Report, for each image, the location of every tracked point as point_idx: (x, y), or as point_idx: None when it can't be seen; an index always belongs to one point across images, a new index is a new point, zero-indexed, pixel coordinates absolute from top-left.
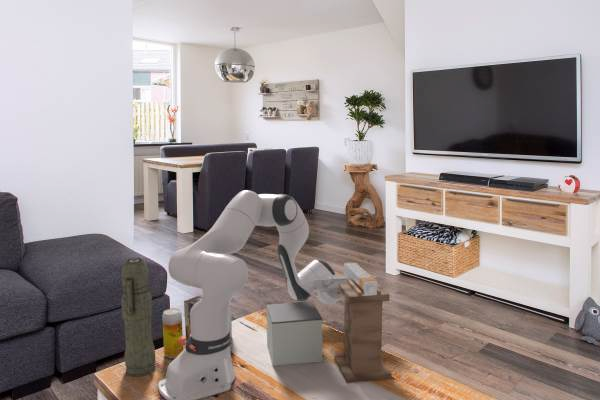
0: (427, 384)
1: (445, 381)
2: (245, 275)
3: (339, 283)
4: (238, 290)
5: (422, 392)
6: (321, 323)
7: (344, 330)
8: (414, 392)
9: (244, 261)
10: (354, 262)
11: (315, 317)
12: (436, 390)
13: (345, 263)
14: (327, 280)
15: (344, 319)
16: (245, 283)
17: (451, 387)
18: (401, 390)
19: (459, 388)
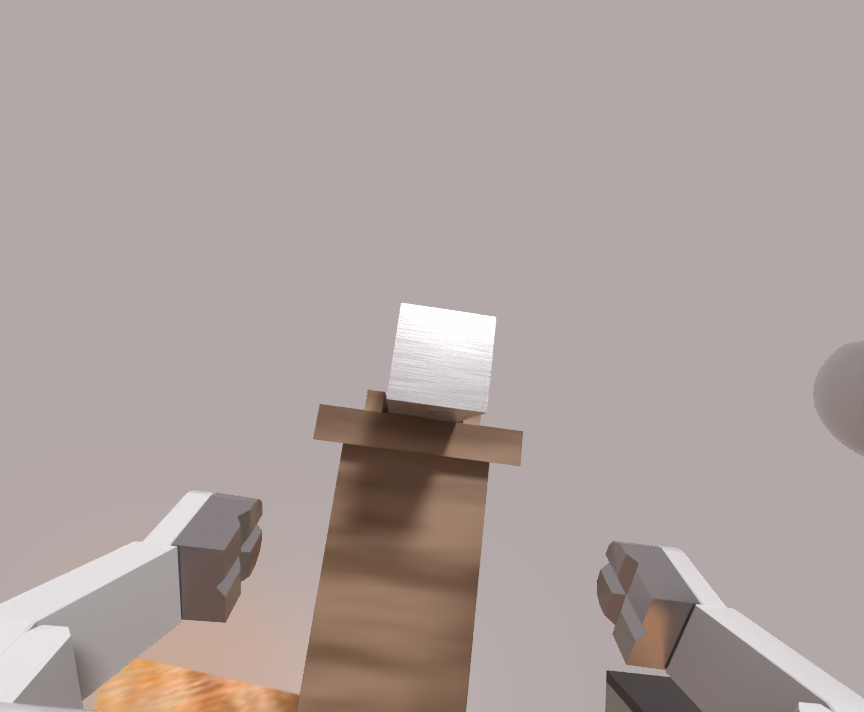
0: (187, 709)
1: (112, 705)
2: (815, 392)
3: (519, 431)
4: (840, 441)
5: (241, 688)
6: (610, 707)
7: (466, 699)
8: (263, 693)
9: (849, 351)
10: (409, 304)
11: (657, 687)
12: (193, 684)
13: (483, 319)
14: (731, 630)
15: (473, 628)
16: (831, 421)
17: (135, 683)
18: (292, 708)
19: (120, 675)
